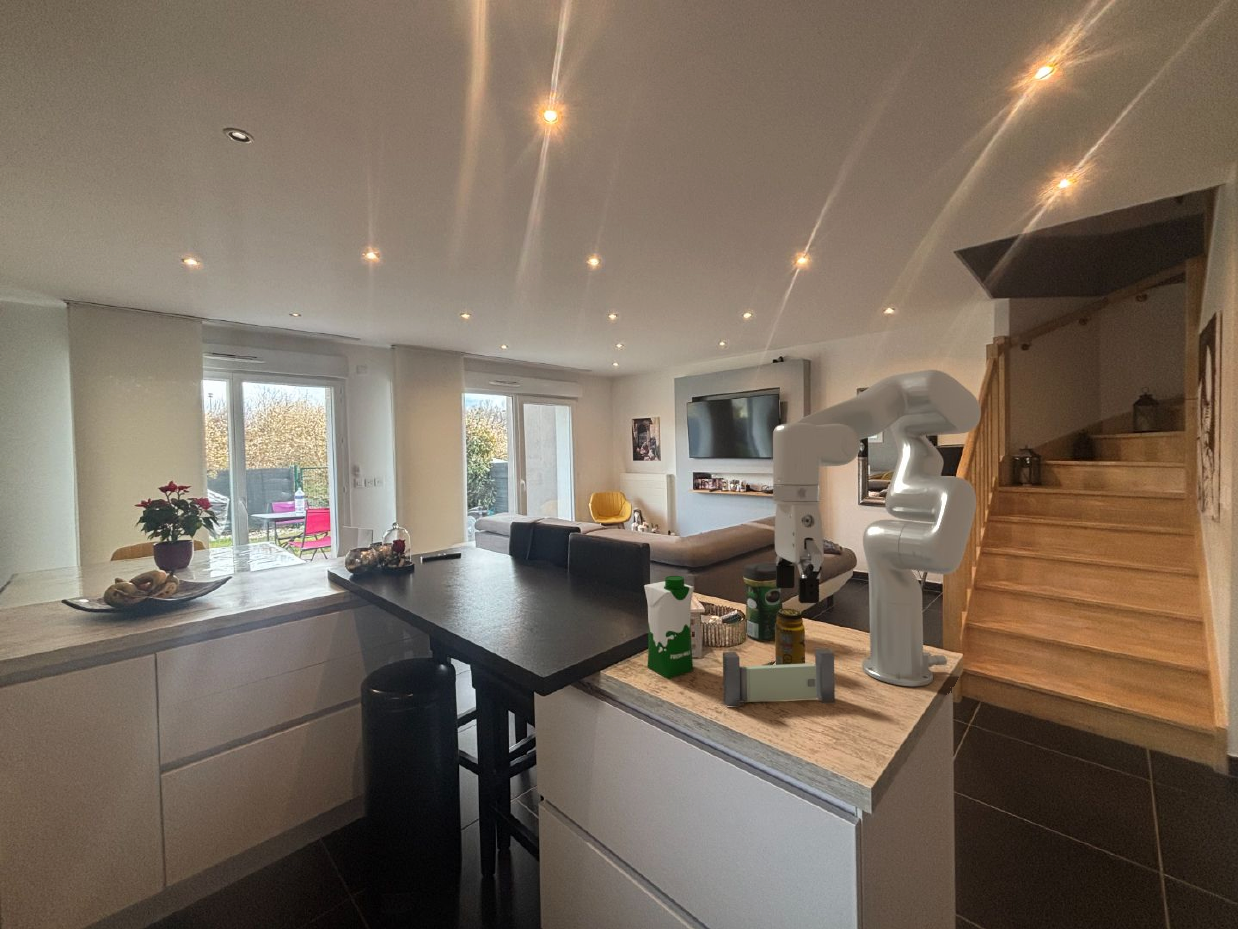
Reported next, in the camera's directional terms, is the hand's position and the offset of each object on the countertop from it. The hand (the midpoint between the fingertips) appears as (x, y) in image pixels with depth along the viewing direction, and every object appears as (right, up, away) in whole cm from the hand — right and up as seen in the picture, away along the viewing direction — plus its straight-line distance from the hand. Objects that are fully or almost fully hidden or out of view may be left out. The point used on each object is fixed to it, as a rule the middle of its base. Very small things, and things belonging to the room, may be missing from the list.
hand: (796, 594), depth 83 cm
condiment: (+6, -21, +20) cm, 30 cm away
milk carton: (-19, -22, +21) cm, 36 cm away
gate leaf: (-1, -21, +6) cm, 22 cm away
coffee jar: (+6, -21, +39) cm, 45 cm away
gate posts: (-1, -21, +6) cm, 22 cm away
